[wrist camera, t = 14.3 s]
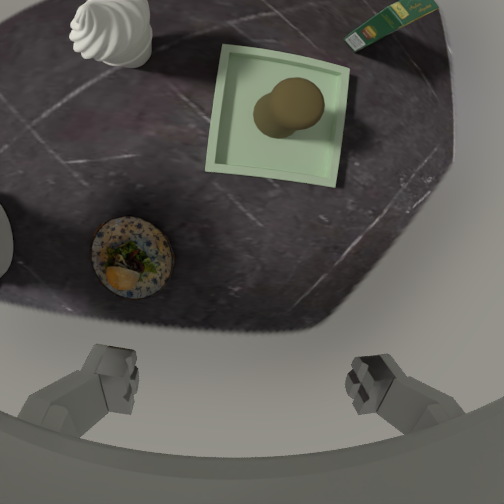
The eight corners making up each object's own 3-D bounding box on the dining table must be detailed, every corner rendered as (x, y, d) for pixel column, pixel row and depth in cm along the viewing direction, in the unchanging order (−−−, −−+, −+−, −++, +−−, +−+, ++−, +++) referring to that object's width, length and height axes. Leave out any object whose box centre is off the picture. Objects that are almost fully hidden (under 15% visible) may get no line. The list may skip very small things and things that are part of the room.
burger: (192, 246, 39) (187, 267, 32) (147, 309, 41) (137, 338, 34) (119, 194, 35) (98, 204, 28) (80, 263, 38) (58, 285, 31)
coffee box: (353, 55, 32) (404, 26, 20) (340, 39, 31) (387, 4, 19) (388, 35, 31) (441, 8, 19) (376, 20, 30) (426, -12, 18)
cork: (310, 121, 34) (346, 111, 24) (272, 148, 35) (294, 146, 25) (282, 83, 32) (308, 58, 22) (242, 109, 33) (253, 91, 23)
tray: (205, 170, 36) (205, 171, 34) (222, 49, 31) (222, 43, 29) (329, 185, 38) (335, 187, 36) (343, 72, 33) (349, 68, 31)
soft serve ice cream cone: (152, 16, 28) (120, -47, 13) (178, 60, 31) (154, 5, 16) (97, 50, 28) (39, 6, 13) (121, 95, 31) (63, 64, 16)
